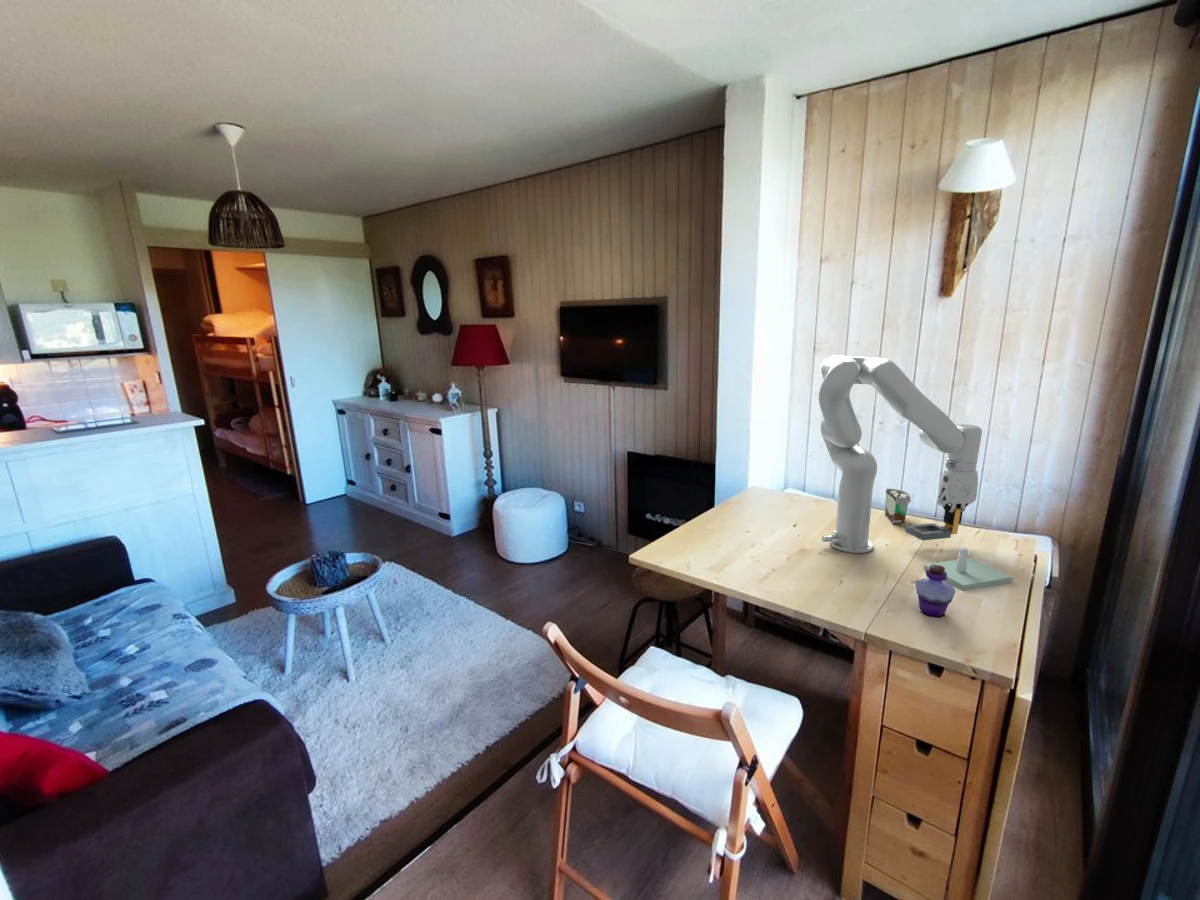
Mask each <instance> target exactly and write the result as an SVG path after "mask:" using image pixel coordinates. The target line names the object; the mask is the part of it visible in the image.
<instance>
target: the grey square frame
mask: <svg viewBox="0 0 1200 900" xmlns="http://www.w3.org/2000/svg"><path fill="white" fill-rule="evenodd" d="M954 513H955V518H954V524H953V525H949V524H947V523H945V522H944V525H942V526H939V525H937V524H935V523H932V522H930V523H923V524H922V523H921V524H911V525H905V530H904V532H905V533H907V534H908V535H911V536H912V537H915V538H917V539H919V540H921V541H933V540H940V539H948V538H949V539H950V538H951V535H957V534H958V531H959V530H958V529H959V526H960V524H959V519H960V513H961V509H959V508H956V507H955V508H954Z"/></svg>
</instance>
